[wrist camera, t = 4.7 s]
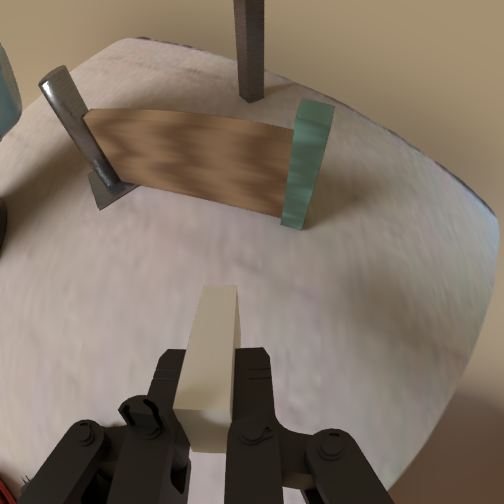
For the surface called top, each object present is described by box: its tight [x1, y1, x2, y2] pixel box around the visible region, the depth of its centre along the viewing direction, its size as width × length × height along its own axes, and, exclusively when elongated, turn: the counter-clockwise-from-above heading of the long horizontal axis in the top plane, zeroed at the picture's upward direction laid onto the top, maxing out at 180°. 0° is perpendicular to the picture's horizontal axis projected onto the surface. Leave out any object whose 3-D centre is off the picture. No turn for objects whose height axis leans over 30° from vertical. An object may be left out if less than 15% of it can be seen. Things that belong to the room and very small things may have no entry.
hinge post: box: [38, 65, 139, 210], centre depth 22 cm, size 6×6×16 cm
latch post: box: [234, 0, 264, 103], centre depth 27 cm, size 2×2×16 cm
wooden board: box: [83, 98, 335, 230], centre depth 21 cm, size 20×2×13 cm, turn 73°
